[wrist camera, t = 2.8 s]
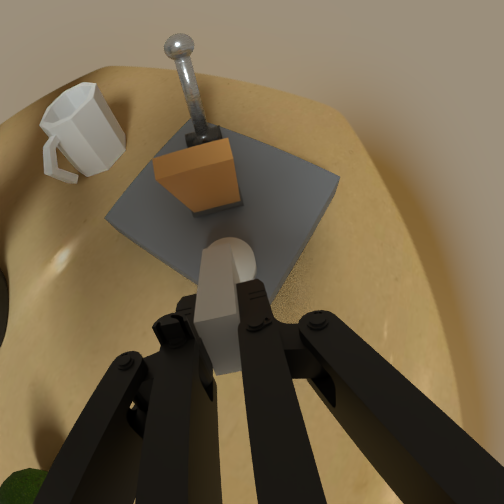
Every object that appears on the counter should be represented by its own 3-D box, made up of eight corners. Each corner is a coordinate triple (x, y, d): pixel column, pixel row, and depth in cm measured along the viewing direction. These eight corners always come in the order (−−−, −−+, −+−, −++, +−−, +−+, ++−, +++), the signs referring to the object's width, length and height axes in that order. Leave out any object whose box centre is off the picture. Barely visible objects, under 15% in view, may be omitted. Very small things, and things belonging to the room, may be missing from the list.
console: (117, 230, 29) (104, 217, 26) (197, 134, 33) (191, 117, 30) (259, 323, 25) (256, 318, 22) (335, 193, 29) (340, 176, 26)
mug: (92, 132, 36) (62, 87, 27) (137, 128, 35) (109, 76, 26) (56, 199, 32) (13, 159, 23) (101, 203, 31) (55, 154, 22)
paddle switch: (196, 219, 25) (152, 186, 14) (191, 200, 25) (147, 154, 14) (244, 207, 25) (238, 163, 14) (239, 188, 26) (230, 131, 14)
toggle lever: (189, 155, 27) (153, 42, 17) (189, 143, 29) (156, 38, 19) (224, 146, 27) (197, 30, 18) (221, 134, 29) (196, 27, 19)
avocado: (104, 506, 18) (38, 545, 7) (75, 523, 16) (16, 554, 5) (58, 451, 20) (-18, 467, 9) (34, 474, 19) (-32, 489, 7)
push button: (212, 299, 23) (206, 293, 21) (203, 253, 24) (197, 244, 22) (262, 287, 23) (260, 281, 21) (250, 241, 24) (248, 231, 22)
